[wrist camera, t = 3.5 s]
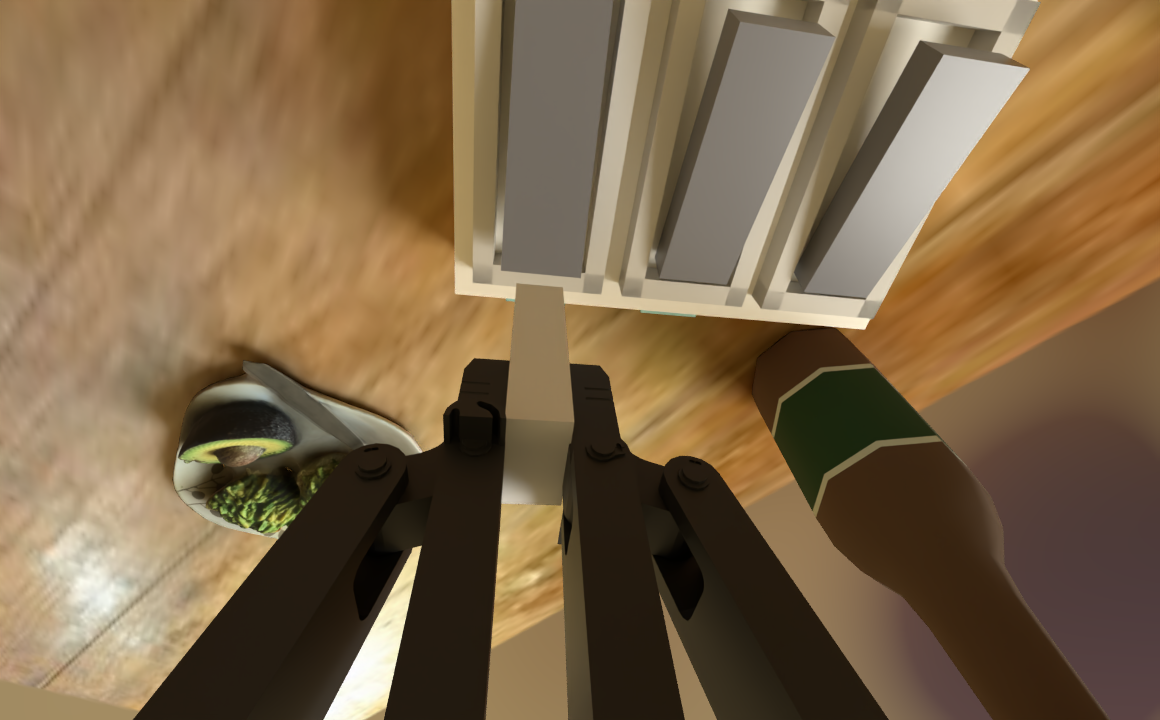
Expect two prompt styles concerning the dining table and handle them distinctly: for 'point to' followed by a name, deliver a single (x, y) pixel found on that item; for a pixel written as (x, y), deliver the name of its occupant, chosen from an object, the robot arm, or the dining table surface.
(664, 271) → the block
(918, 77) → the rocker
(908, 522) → the beer bottle
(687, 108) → the console
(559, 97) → the rocker
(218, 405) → the salad plate
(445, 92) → the dining table surface
